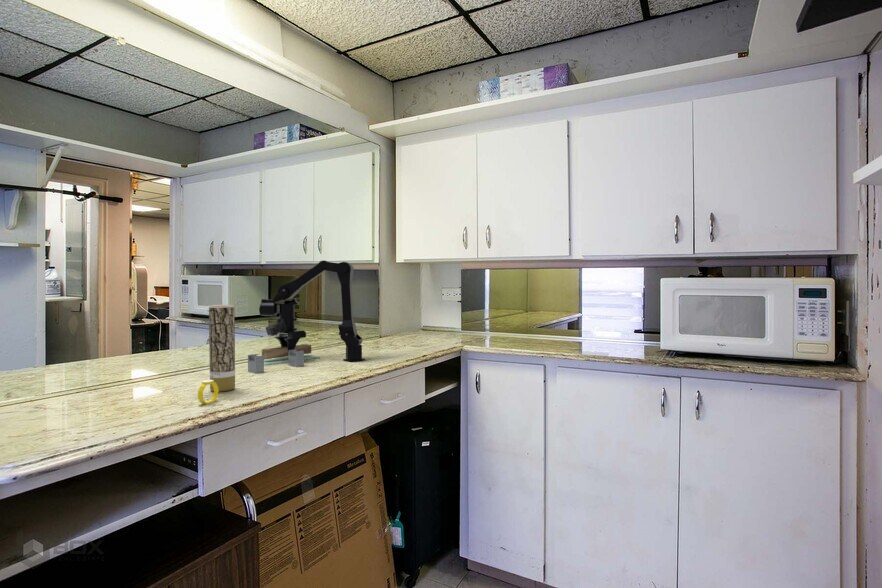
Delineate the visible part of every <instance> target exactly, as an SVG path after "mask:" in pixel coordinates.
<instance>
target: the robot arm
mask: <svg viewBox="0 0 882 588" xmlns="http://www.w3.org/2000/svg"><path fill="white" fill-rule="evenodd" d="M327 271H328V272H333V273H336V275H337V277H338V281H339V284H340V290H341V291H340V292H341V293H340V294H341V309H342V323H339V324H338V331H339V332H338V336H340V339H341V340H342V341H343V342H344V343H345V358H343V359H342V360H343V361H345V362H351V361H352V363H353V362H354V361H355V362H360V361H365V360H366V358H363V345H362V342H363V340H364V339H363V337H362V336H360V335H359V334H358V329H357V325H356V323H355V319H354V309H353V308H354V307H353V295H352V294H353V293H352V292H353V290H352V282H353V280H354V279H353V276H354V271H355V270H354V266H353V264H351V263H349V262H347V261H341V262H339V263H336V262H331V261H327V260H320V261H319V262H318V263H317V264H316V265H314V266H313V267H312V268H310V269H308V270H307V271H305V272H304V273H303V274H302V275H300V276H298V277H297V278H296V279H293V280H291V281H288V282H287V283H284V284H282V285H280V286H279V287H278V288H277V293H276V295H275V296H274V297H273V299H267V298H262V299H261V302H260V304H259V308H258V309H259V310H258V311H259V315H260V316H261V317H262V316H264V317H275V316H276V317H277V315H278V314H279V318H277V319H276V322H275V323H272V324H270V325H268V326H265V331H266V333H267V336H272V337H274V338H275V339H276V340H277V341H278V342H279V344H280V347H286V346H288V350H293V349H294V348H295V346H296V345H297V344H298V343H299V341H300V339H305V338H307V332H306V331H305V330H304V329H303V330H302V329H298V328H297V327H296V326H295V325H296V324H295V323H296V322H297V320H298V319H297V317H295V306H296V305H300V301H298V300H297V298H294V297H295V296H297V294H298V293H299V292H301V290H302V289H303V288H304V287H305V286H306V285H307V284H309V283H310V282H312V281H314V280H315V279H316V278H317V277H319V276H321V275H323V273H325V272H327ZM295 321H296V322H295Z"/></svg>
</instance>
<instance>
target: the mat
mask: <svg viewBox="0 0 882 588" xmlns="http://www.w3.org/2000/svg"><path fill="white" fill-rule="evenodd" d="M313 358H316V359H320V356H318V355H312V354H304V361H307V360H306V359H309V360H314V359H313ZM286 362H288V363H289V358H288V356H287V357H279V358H272V359H264V365H267V366H273V365H272V364H274V365H279V363H281V364H287V363H286Z"/></svg>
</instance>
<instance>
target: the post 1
mask: <svg viewBox="0 0 882 588" xmlns="http://www.w3.org/2000/svg"><path fill="white" fill-rule="evenodd" d="M264 360H265V359H264V356H262V355H258V354H256V353H253V354H247V372H250V373H252V374H259V373H260V374H261V372H262V373H265V366H264Z"/></svg>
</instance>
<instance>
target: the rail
mask: <svg viewBox="0 0 882 588" xmlns="http://www.w3.org/2000/svg"><path fill="white" fill-rule="evenodd" d="M294 349H297V351H304V355H306V354H308V355H310V354H312V344H308V343H305V344H298V345H297V344H296V346H295V348H294ZM261 356H264V360H268V359H276V358H283V357H288V346H286V347H281V346H279V347H269V348H263V349H261Z"/></svg>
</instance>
